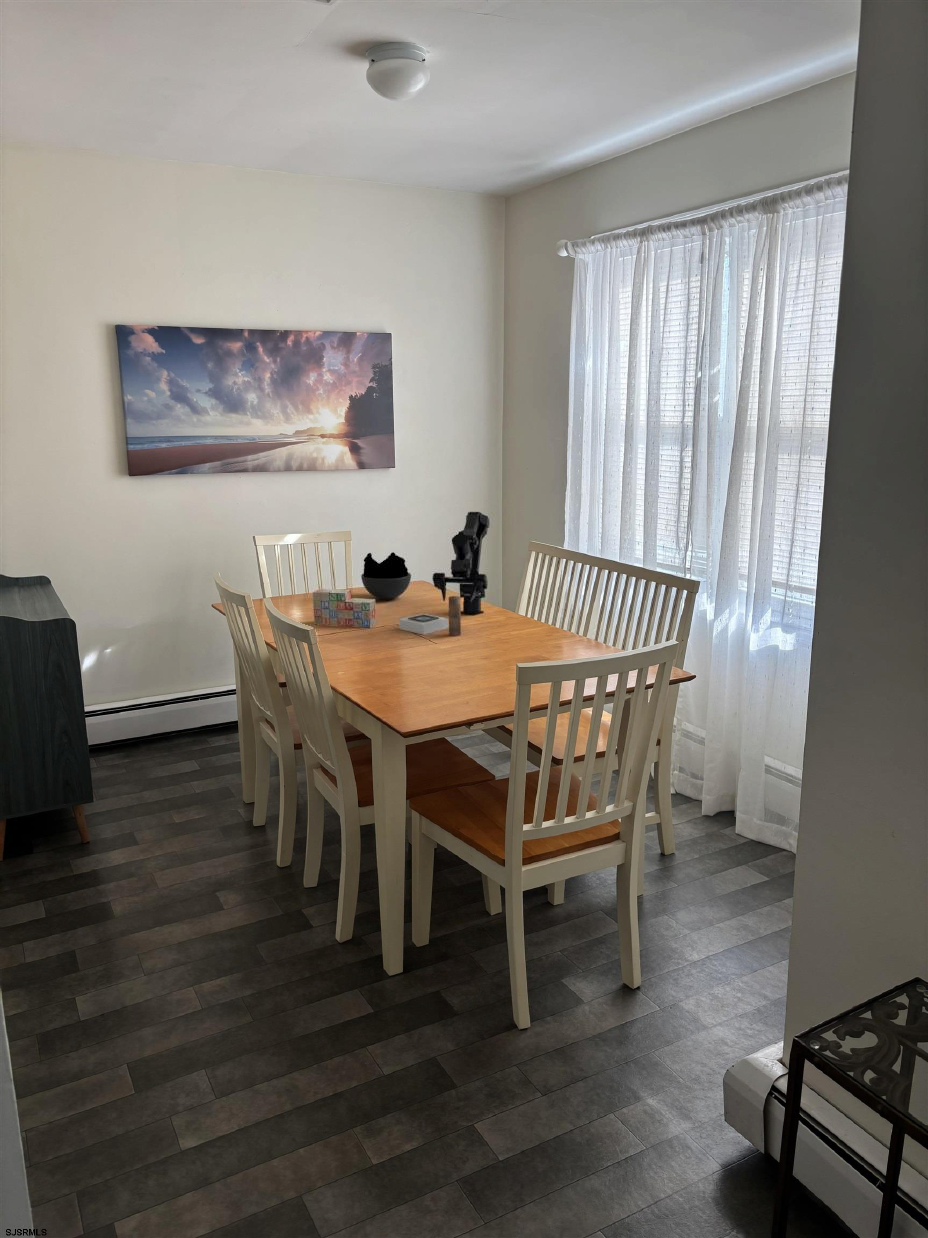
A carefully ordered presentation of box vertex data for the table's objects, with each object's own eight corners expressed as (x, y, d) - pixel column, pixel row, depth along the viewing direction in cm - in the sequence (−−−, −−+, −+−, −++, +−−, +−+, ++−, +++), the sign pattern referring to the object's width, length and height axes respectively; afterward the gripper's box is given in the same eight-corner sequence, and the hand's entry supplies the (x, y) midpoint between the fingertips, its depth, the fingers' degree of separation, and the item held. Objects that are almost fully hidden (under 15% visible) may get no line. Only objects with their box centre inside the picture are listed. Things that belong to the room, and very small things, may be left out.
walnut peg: (454, 632, 309) (454, 595, 306) (463, 634, 307) (462, 597, 304) (446, 634, 307) (446, 597, 304) (455, 636, 304) (454, 599, 301)
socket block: (423, 623, 323) (423, 612, 322) (447, 628, 315) (447, 617, 315) (399, 629, 315) (399, 617, 314) (423, 634, 307) (423, 623, 306)
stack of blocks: (376, 624, 322) (375, 590, 319) (370, 628, 316) (369, 594, 313) (320, 621, 327) (319, 588, 325) (313, 625, 321) (312, 591, 319)
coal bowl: (421, 597, 368) (420, 551, 363) (391, 606, 351) (390, 558, 347) (381, 592, 378) (380, 547, 374) (351, 600, 362) (350, 554, 357)
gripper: (433, 549, 311) (426, 586, 303) (486, 550, 308) (481, 588, 300) (438, 568, 320) (431, 605, 312) (489, 569, 317) (484, 606, 309)
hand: (457, 601), depth 308 cm, fingers open, 9 cm apart
